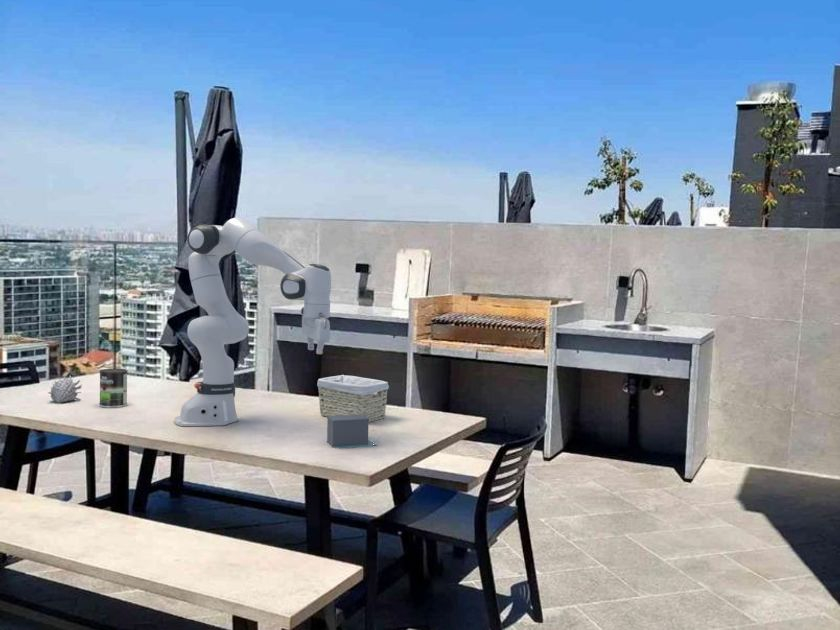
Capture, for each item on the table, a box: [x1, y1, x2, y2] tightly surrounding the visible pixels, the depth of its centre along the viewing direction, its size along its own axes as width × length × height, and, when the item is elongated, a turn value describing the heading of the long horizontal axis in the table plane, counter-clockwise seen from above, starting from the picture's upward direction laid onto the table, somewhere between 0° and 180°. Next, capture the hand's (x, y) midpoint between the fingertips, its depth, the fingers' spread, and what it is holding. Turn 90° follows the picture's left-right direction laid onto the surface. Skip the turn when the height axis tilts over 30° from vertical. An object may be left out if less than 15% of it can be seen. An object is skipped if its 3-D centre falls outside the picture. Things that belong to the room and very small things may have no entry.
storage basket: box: [316, 374, 390, 423], centre depth 299 cm, size 24×16×15 cm
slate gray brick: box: [326, 414, 370, 448], centre depth 256 cm, size 12×7×9 cm, turn 111°
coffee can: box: [99, 368, 128, 409], centre depth 309 cm, size 10×10×14 cm
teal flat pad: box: [326, 439, 378, 449], centre depth 257 cm, size 14×10×1 cm
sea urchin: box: [47, 375, 83, 404], centre depth 314 cm, size 12×11×12 cm
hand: (314, 351), depth 267 cm, fingers open, 8 cm apart
